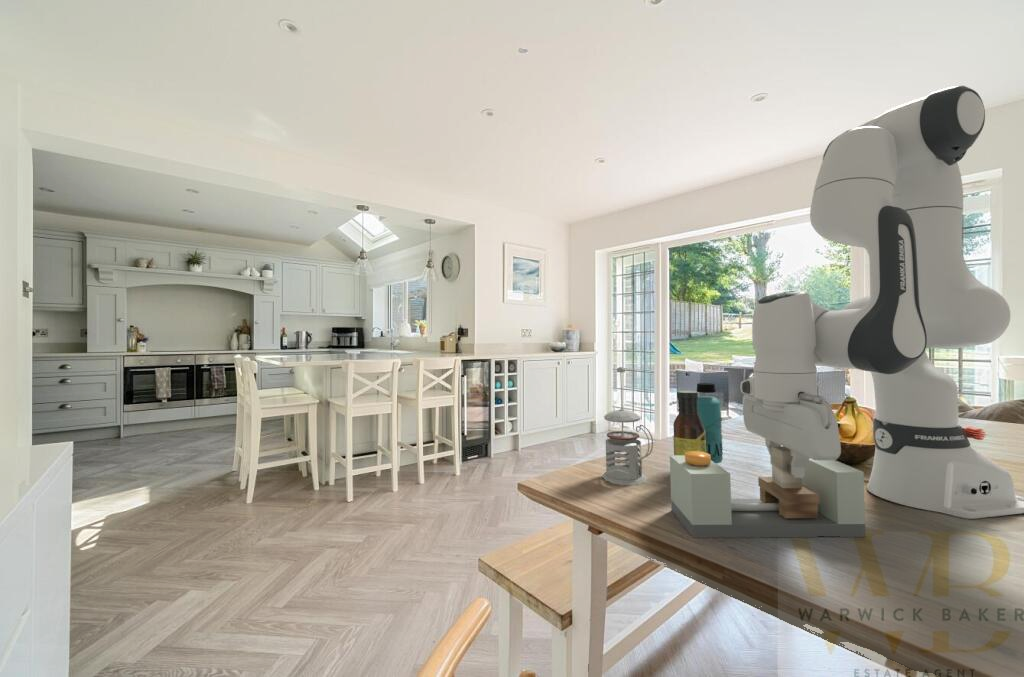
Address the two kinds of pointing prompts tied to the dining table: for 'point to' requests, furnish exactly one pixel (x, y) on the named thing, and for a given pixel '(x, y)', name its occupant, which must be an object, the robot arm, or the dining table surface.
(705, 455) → the button
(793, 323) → the robot arm
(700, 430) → the sauce bottle
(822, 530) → the rail bench
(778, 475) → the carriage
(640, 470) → the french press
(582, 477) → the dining table surface
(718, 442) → the beverage bottle
